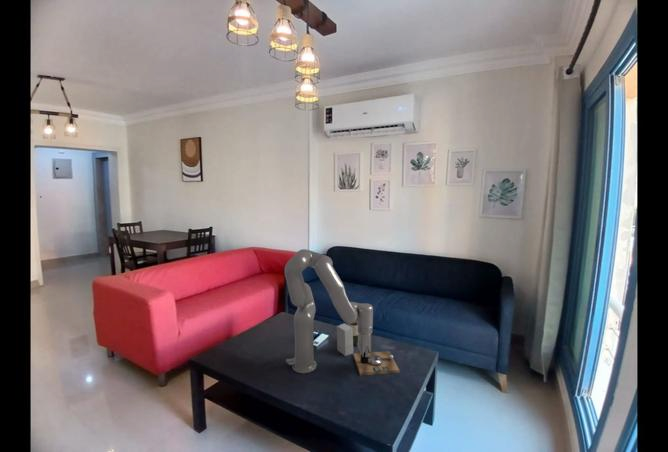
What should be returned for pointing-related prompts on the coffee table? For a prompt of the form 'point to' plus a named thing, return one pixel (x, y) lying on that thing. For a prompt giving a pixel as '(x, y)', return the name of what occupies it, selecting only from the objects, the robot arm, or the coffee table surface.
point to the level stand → (383, 368)
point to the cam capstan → (376, 359)
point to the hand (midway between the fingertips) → (364, 362)
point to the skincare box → (345, 339)
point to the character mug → (355, 332)
